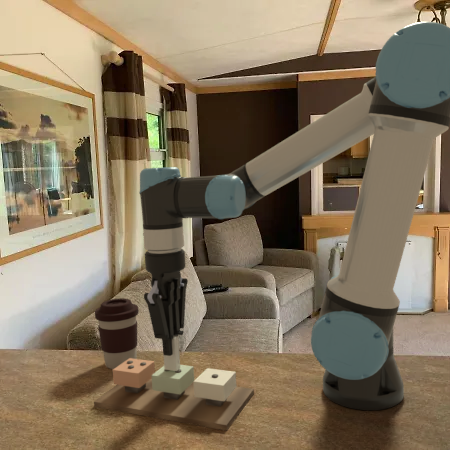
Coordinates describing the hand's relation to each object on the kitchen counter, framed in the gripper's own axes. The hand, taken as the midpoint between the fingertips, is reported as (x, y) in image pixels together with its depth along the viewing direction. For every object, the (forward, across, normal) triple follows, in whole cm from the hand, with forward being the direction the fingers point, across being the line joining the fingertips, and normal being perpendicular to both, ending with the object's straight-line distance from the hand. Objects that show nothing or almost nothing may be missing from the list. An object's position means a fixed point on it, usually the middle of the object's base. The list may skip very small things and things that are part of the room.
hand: (172, 368), depth 94 cm
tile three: (+3, 0, -9) cm, 10 cm away
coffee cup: (+7, -12, -21) cm, 25 cm away
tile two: (+3, 0, 0) cm, 3 cm away
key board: (+7, 0, 0) cm, 7 cm away
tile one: (+3, 0, +9) cm, 10 cm away
